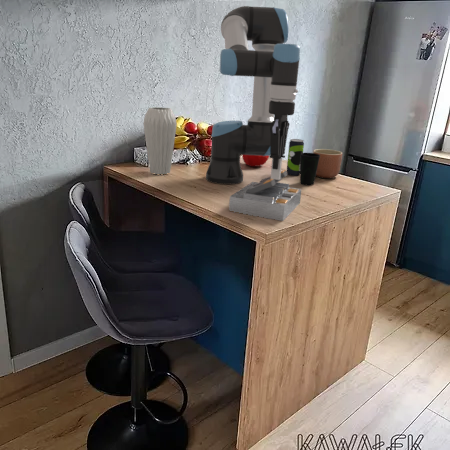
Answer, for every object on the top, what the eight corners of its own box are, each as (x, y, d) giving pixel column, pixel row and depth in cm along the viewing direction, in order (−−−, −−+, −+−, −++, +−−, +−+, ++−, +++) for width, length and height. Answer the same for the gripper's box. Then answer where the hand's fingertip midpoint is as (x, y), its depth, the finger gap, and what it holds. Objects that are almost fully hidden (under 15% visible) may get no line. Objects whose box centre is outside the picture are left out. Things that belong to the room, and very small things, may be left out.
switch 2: (254, 190, 151) (252, 185, 151) (258, 187, 155) (256, 182, 154) (278, 181, 147) (276, 175, 147) (281, 179, 150) (279, 173, 150)
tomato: (243, 162, 220) (244, 139, 216) (268, 164, 218) (270, 141, 215) (240, 168, 207) (241, 144, 204) (267, 170, 206) (269, 146, 202)
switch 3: (261, 185, 158) (259, 180, 157) (264, 183, 161) (262, 178, 160) (284, 176, 153) (282, 171, 153) (287, 174, 157) (285, 169, 156)
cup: (316, 187, 182) (319, 157, 178) (297, 185, 183) (300, 155, 179) (316, 182, 189) (320, 153, 185) (297, 180, 190) (301, 152, 186)
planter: (307, 177, 196) (310, 152, 192) (313, 171, 207) (316, 147, 203) (337, 181, 192) (340, 155, 188) (341, 175, 203) (344, 151, 199)
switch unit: (228, 211, 147) (230, 192, 145) (251, 195, 166) (252, 177, 164) (282, 221, 141) (284, 200, 139) (300, 202, 160) (302, 184, 158)
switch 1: (247, 195, 145) (245, 190, 145) (251, 192, 148) (249, 187, 148) (272, 186, 141) (270, 180, 141) (275, 183, 144) (273, 178, 144)
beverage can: (296, 172, 204) (300, 138, 199) (303, 175, 199) (306, 141, 194) (283, 172, 202) (287, 138, 197) (290, 176, 197) (293, 141, 192)
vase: (154, 168, 198) (153, 105, 189) (181, 172, 194) (182, 108, 185) (137, 174, 187) (136, 108, 178) (166, 178, 182) (167, 111, 173)
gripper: (289, 102, 127) (281, 185, 135) (300, 100, 138) (292, 176, 146) (263, 100, 130) (257, 181, 138) (276, 98, 141) (270, 173, 149)
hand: (275, 178), depth 142 cm, fingers closed
